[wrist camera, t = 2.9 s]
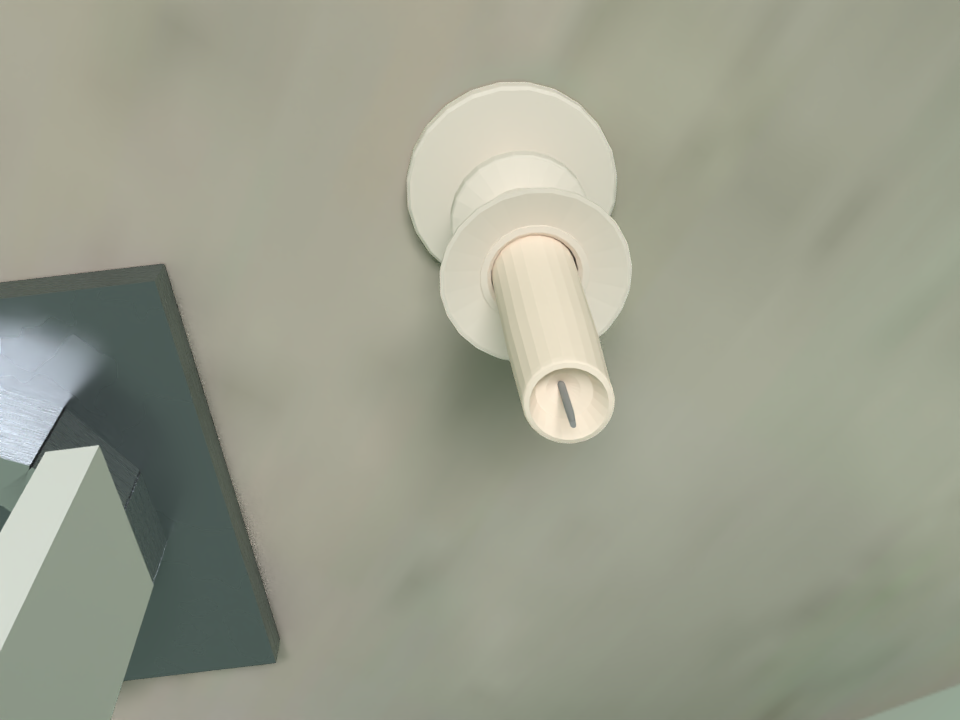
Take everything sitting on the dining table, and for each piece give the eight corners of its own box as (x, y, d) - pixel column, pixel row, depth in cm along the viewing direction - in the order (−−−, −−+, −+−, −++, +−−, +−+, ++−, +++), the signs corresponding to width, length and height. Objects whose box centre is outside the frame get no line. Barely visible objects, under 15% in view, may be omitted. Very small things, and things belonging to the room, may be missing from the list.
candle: (362, 170, 22) (331, 408, 13) (534, 33, 21) (628, 199, 12) (490, 314, 24) (535, 600, 16) (652, 200, 23) (803, 443, 14)
